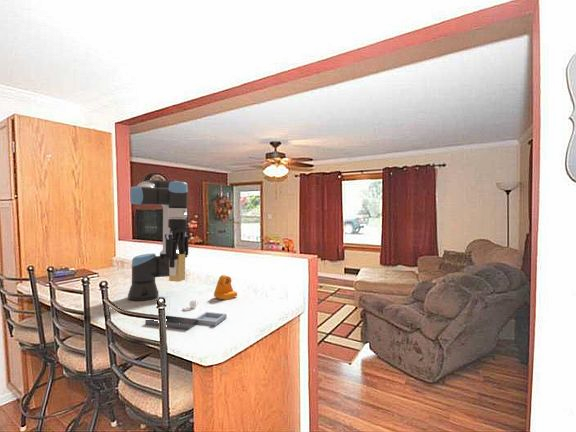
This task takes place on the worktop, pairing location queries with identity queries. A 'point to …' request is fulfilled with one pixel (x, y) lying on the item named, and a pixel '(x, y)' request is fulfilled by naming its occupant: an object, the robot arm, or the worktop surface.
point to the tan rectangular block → (178, 268)
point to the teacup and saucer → (191, 306)
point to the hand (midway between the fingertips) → (177, 273)
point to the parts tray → (211, 318)
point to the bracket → (224, 288)
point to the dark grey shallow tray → (175, 322)
